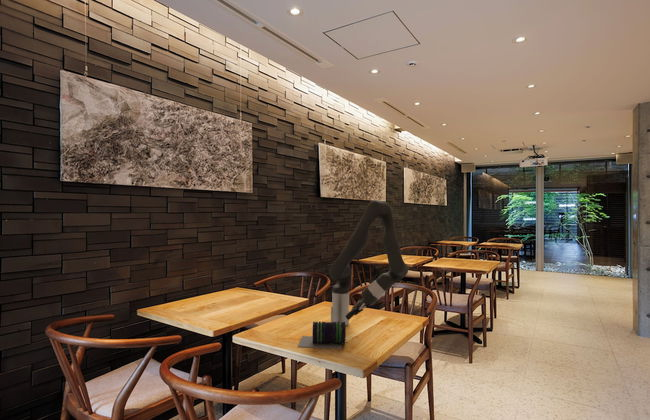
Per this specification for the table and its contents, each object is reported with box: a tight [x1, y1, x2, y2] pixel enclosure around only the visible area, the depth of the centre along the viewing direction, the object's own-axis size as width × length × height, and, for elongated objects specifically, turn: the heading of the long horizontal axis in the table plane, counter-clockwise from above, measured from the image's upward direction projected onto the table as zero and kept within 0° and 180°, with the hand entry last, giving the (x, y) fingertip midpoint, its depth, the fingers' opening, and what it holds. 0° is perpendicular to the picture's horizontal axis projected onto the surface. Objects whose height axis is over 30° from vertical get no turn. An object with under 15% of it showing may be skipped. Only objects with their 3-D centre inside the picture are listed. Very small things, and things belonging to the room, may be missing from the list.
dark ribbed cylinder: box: [312, 321, 347, 345], centre depth 172 cm, size 10×10×15 cm
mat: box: [297, 335, 343, 350], centre depth 173 cm, size 20×14×1 cm
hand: (346, 318), depth 172 cm, fingers closed
